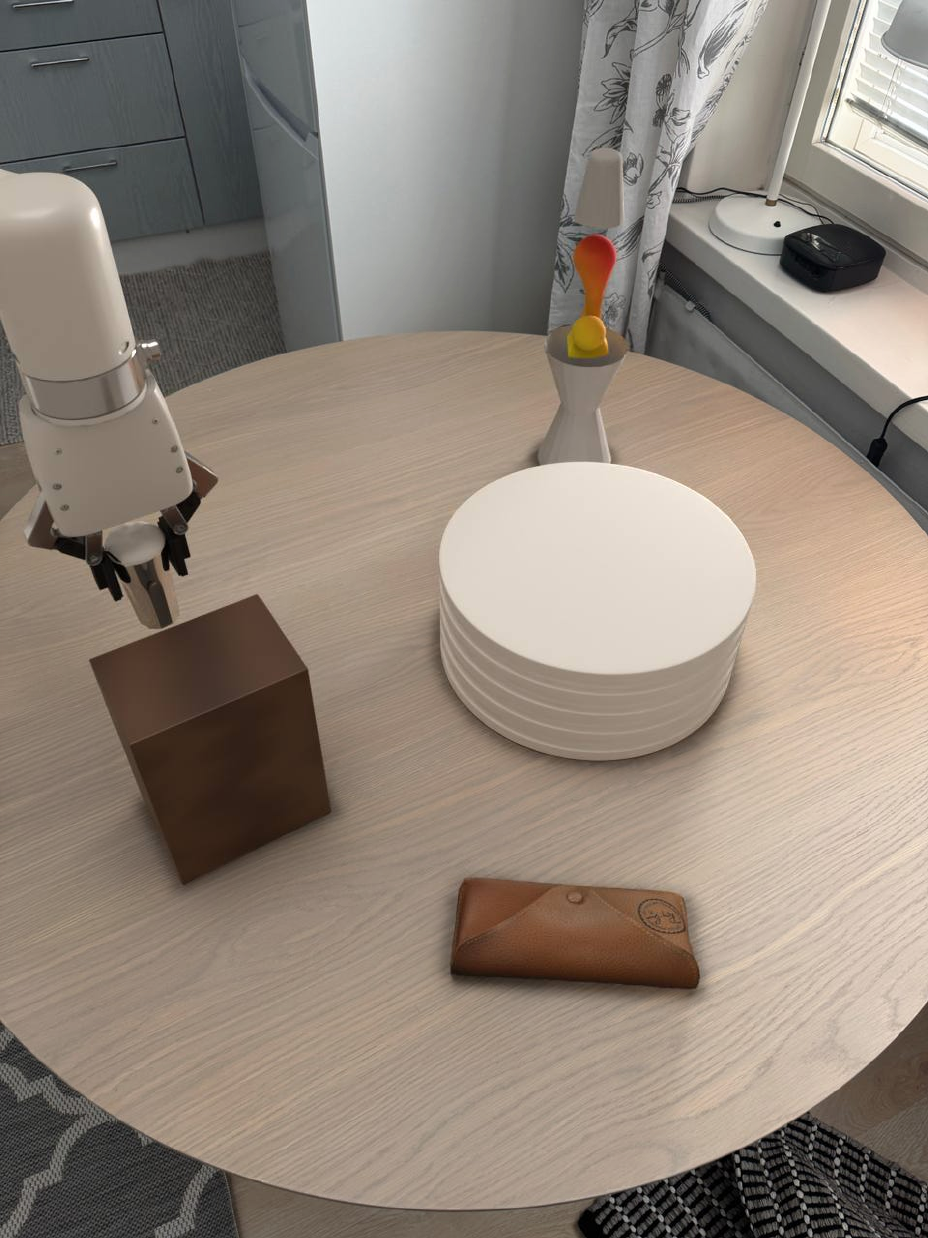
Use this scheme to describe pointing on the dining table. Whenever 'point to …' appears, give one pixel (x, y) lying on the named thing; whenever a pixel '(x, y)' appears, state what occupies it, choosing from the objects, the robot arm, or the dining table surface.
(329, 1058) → the dining table surface
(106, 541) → the milkshake
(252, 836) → the brown box
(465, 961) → the sunglasses case
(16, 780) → the dining table surface
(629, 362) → the dining table surface
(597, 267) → the lava lamp
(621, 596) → the plate stack
